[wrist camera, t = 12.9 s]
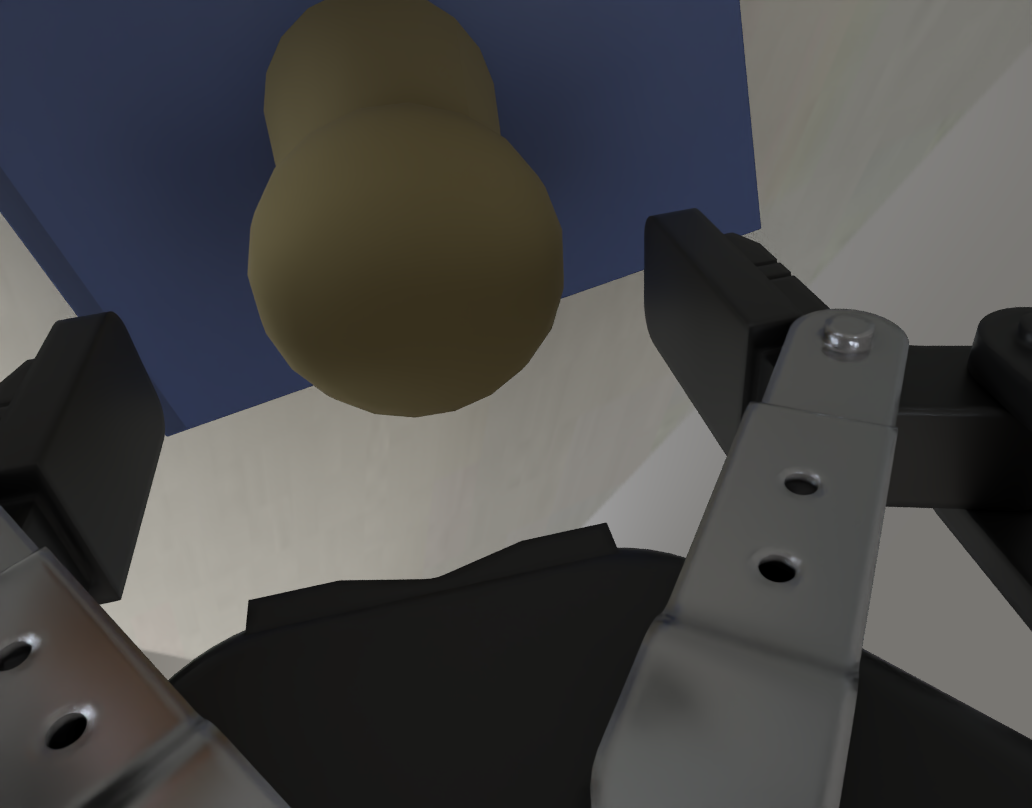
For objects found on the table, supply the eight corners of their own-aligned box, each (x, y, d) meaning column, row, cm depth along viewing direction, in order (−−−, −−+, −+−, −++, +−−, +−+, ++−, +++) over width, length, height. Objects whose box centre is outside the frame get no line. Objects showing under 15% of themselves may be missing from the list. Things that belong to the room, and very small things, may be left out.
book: (181, 382, 28) (166, 437, 25) (-120, -58, 19) (-190, -43, 17) (721, 192, 27) (761, 229, 25) (654, -339, 19) (704, -368, 16)
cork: (361, 263, 23) (378, 526, 14) (210, 81, 19) (105, 277, 11) (537, 146, 22) (673, 349, 13) (410, -69, 18) (480, 10, 10)
